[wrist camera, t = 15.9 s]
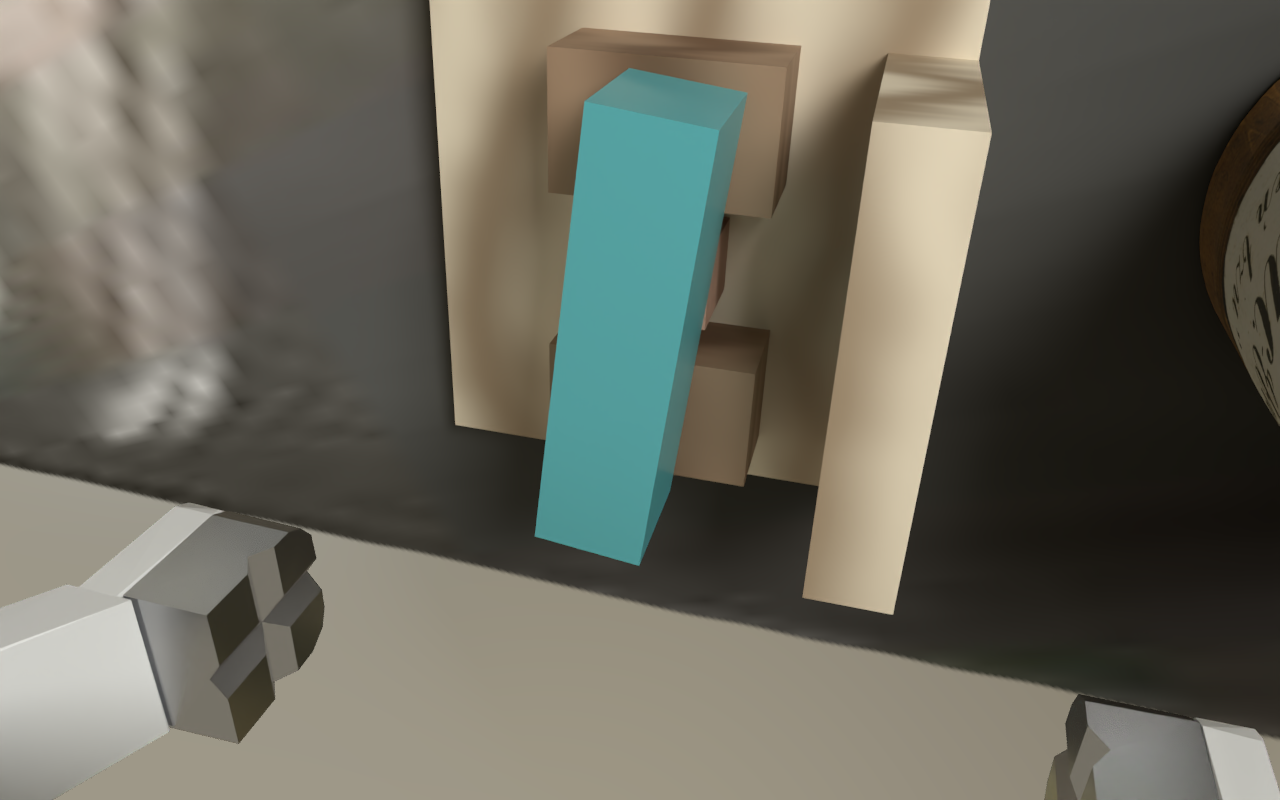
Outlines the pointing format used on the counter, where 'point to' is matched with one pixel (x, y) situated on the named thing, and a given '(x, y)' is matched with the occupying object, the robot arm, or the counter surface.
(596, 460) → the teal rectangular block
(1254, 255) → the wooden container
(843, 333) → the stand
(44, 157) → the counter surface
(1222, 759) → the robot arm
